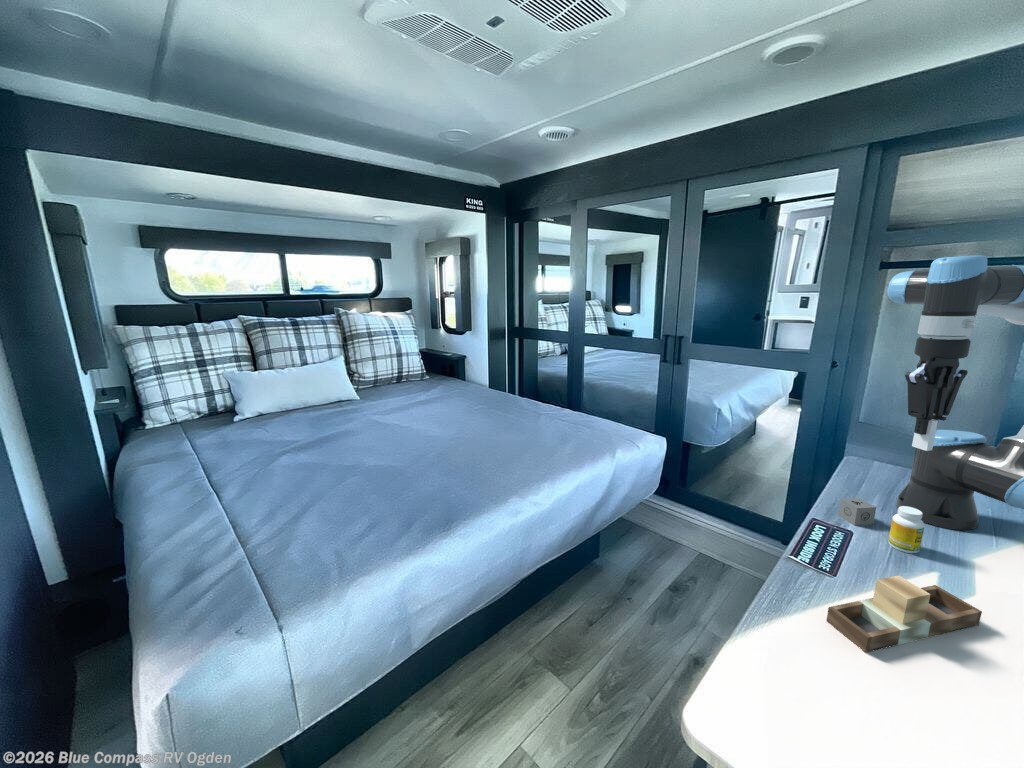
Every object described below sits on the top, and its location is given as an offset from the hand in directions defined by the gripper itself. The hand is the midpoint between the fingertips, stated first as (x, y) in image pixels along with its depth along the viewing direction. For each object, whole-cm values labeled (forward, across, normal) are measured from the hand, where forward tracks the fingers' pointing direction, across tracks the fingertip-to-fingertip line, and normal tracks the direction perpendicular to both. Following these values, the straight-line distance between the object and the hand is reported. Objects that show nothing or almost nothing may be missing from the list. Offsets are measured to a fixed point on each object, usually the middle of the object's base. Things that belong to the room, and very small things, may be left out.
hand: (921, 448), depth 86 cm
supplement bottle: (+27, +5, +3) cm, 27 cm away
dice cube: (+27, +6, +15) cm, 31 cm away
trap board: (+26, -19, -14) cm, 36 cm away
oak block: (+23, -21, -14) cm, 35 cm away
